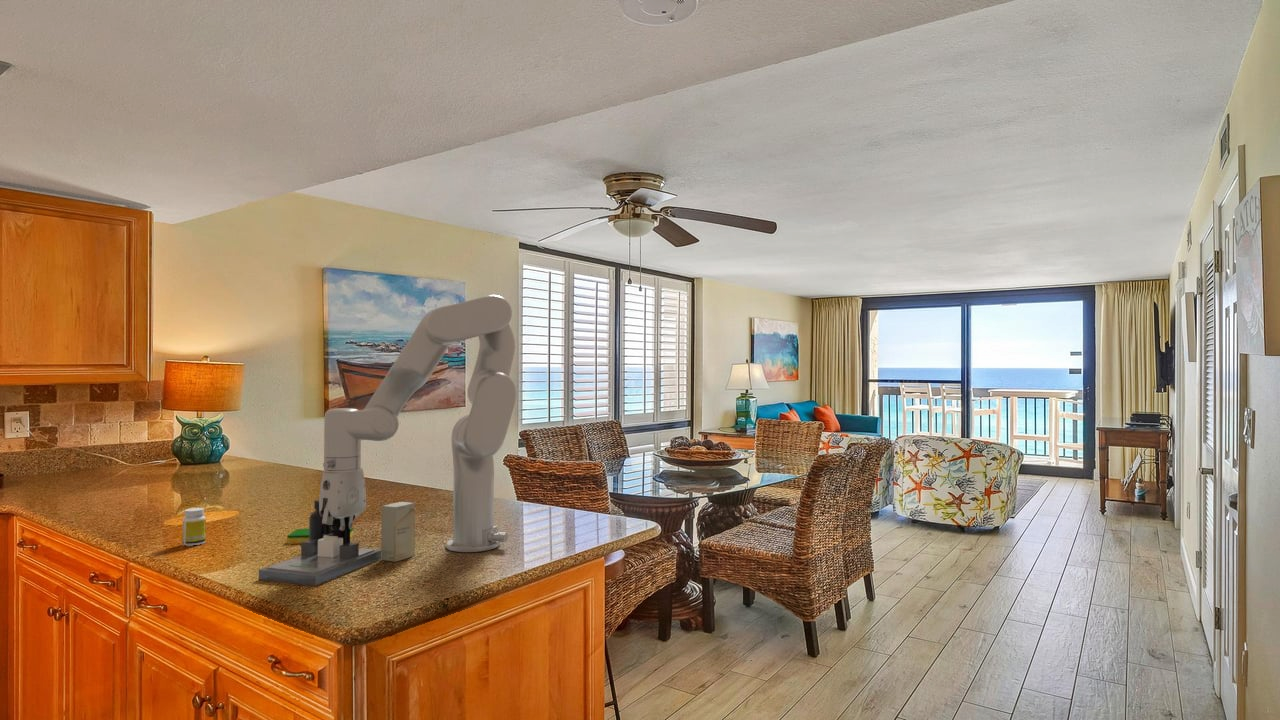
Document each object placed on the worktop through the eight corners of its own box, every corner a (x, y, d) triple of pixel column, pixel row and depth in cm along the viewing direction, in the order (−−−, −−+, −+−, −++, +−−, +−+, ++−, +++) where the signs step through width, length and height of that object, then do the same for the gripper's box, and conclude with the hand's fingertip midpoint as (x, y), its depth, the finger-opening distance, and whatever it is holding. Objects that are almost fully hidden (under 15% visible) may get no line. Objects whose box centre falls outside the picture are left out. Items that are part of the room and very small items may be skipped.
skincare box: (395, 562, 153) (395, 507, 153) (380, 560, 155) (380, 505, 155) (415, 555, 159) (415, 502, 159) (400, 553, 161) (401, 500, 161)
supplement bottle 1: (210, 542, 170) (210, 508, 170) (190, 547, 166) (190, 512, 166) (197, 540, 172) (197, 506, 172) (178, 545, 168) (178, 510, 168)
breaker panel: (381, 559, 156) (381, 536, 156) (315, 586, 137) (315, 560, 137) (329, 554, 160) (329, 531, 160) (258, 579, 141) (258, 554, 141)
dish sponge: (346, 543, 171) (346, 534, 171) (286, 545, 169) (286, 535, 169) (354, 536, 178) (354, 527, 178) (296, 538, 176) (297, 528, 176)
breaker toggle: (342, 554, 151) (343, 535, 151) (333, 557, 148) (333, 538, 148) (327, 552, 152) (327, 533, 152) (317, 556, 149) (317, 537, 149)
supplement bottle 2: (328, 555, 158) (328, 503, 159) (302, 554, 160) (302, 501, 160) (347, 548, 165) (347, 497, 165) (321, 546, 167) (321, 496, 167)
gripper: (332, 469, 146) (331, 557, 146) (378, 460, 160) (378, 540, 160) (303, 467, 148) (302, 554, 148) (351, 459, 162) (350, 538, 162)
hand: (341, 546), depth 154 cm, fingers closed
